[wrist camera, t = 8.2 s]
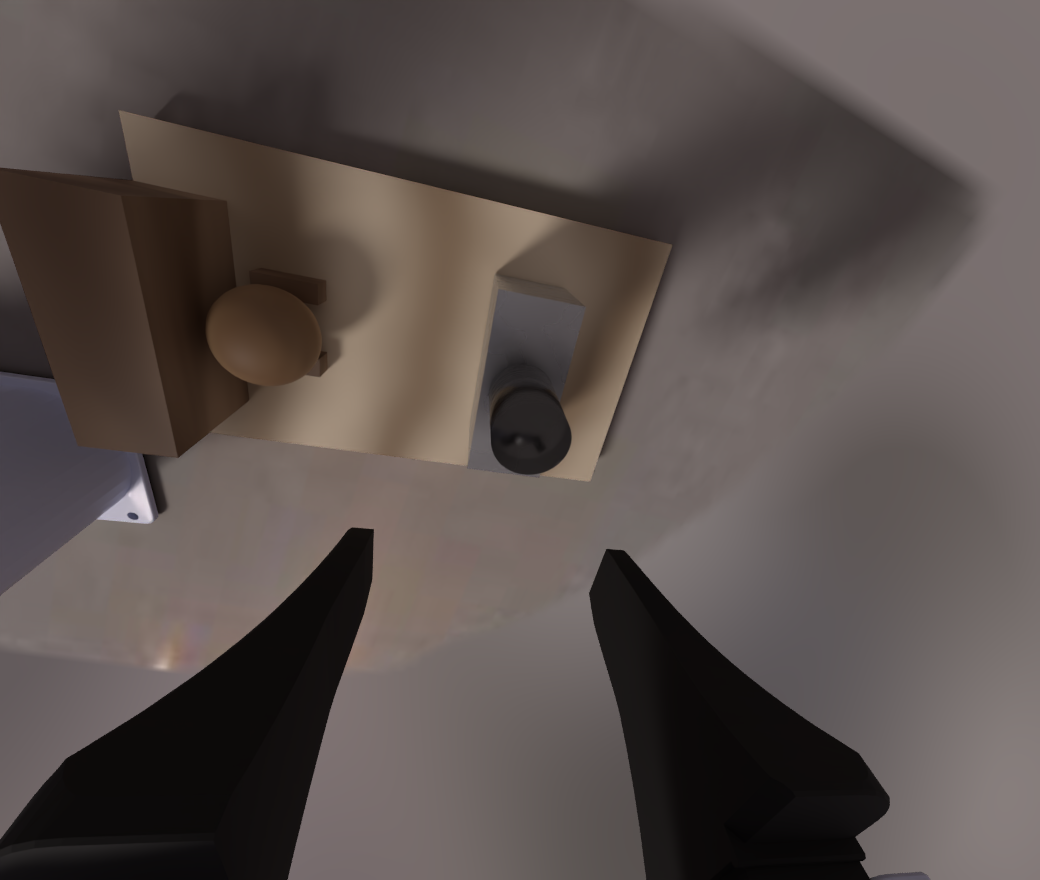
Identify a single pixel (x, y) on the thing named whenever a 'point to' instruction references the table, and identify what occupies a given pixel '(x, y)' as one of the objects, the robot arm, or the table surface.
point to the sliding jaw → (523, 378)
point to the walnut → (263, 335)
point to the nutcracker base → (302, 297)
